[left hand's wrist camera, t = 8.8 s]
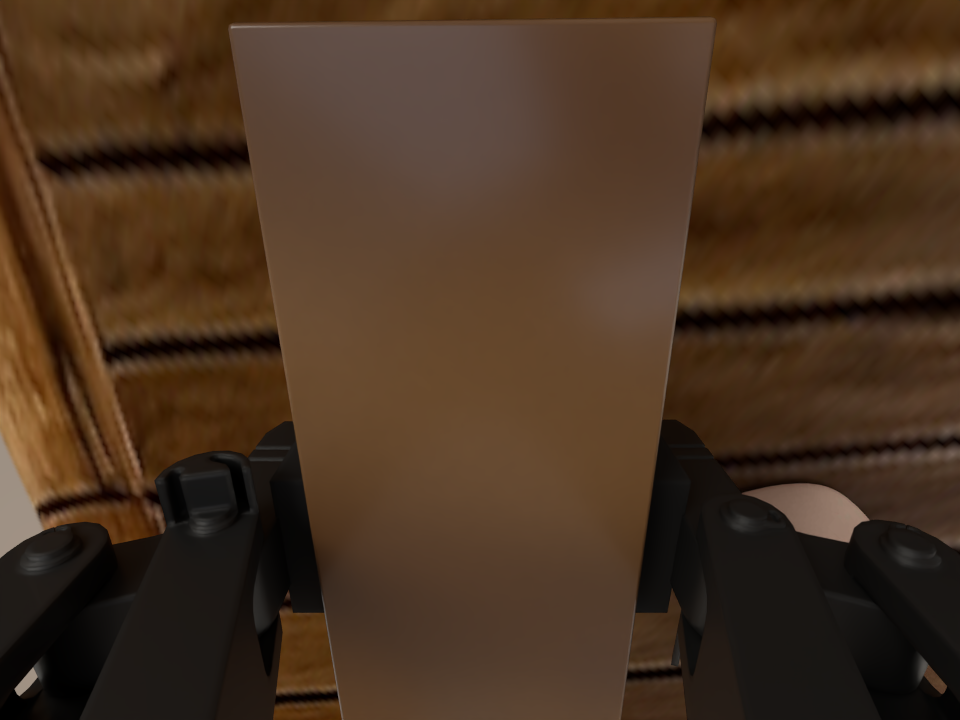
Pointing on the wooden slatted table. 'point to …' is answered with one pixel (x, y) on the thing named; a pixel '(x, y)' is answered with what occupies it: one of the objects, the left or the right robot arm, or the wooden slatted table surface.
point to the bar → (476, 337)
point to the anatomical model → (813, 509)
